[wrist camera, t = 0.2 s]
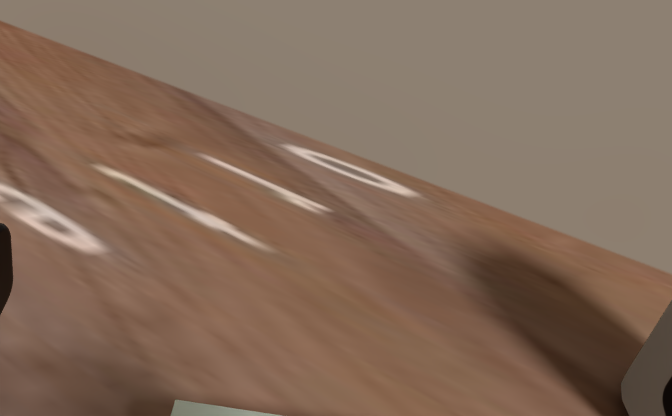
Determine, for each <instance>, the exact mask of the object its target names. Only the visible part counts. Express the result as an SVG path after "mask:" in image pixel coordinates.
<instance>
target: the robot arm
mask: <svg viewBox="0 0 672 416" xmlns="http://www.w3.org/2000/svg"><path fill="white" fill-rule="evenodd" d="M12 284H13V267H12V249H11V235H10V231H9V229H8V227H7V226H6V225H4V224H2V223H0V315H1V313H2V311H3V308H4V306H5V304H6V302H7V300H8V298H9V296H10V293H11V289H12ZM662 403H663V408H664V412H665V416H672V376H671V378H670V379H669V381H668V382H667V384H666V386H665V388H664V391H663V396H662Z"/></svg>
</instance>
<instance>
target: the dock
mask: <svg viewBox="0 0 672 416" xmlns="http://www.w3.org/2000/svg"><path fill="white" fill-rule="evenodd" d="M171 416H281V415H274V414H268V413H261V412H255V411H248V410H242V409H235V408H228V407H222V406H215V405H209V404H202V403H196V402H189V401H183V400H176V399H175V403H174V406H173V409H172V413H171Z"/></svg>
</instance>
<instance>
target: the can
mask: <svg viewBox="0 0 672 416" xmlns="http://www.w3.org/2000/svg"><path fill="white" fill-rule="evenodd" d="M671 376H672V300H671V302H670V304H669V305H668V307H667V308H666V310H665V312H664V313H663V315H662V316H661V318H660V320H659V321H658V323H657V324H656V326H655V328H654V329H653V331H652V332H651V334H650V336H649V337H648V339H647V340H646V342H645V344H644V345H643V347H642V348H641V350H640V352H639V353H638V355H637V356H636V358H635V360H634V361H633V363H632V364H631V366H630V367H629V369H628V371H627V372H626V374H625V376H624V378H623V380H622V382H621V393H622V401H623V403H624V406H625V408H626V410H627V412H628V414H629V416H665V412H664V408H663V403H662V396H663V391H664V388H665V386H666V384H667V382H668V381H669V379H670V378H671Z"/></svg>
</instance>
